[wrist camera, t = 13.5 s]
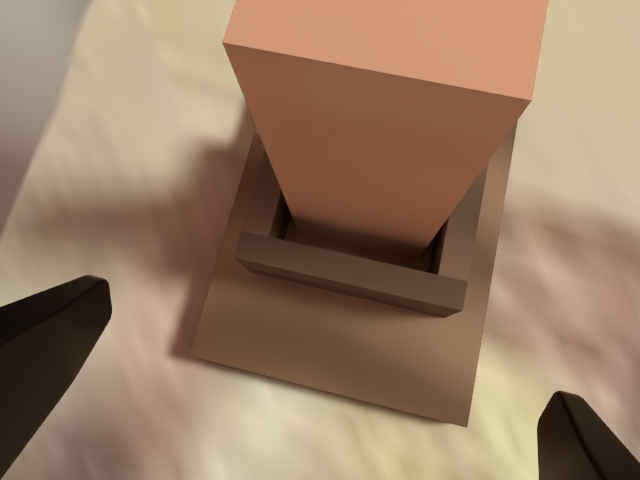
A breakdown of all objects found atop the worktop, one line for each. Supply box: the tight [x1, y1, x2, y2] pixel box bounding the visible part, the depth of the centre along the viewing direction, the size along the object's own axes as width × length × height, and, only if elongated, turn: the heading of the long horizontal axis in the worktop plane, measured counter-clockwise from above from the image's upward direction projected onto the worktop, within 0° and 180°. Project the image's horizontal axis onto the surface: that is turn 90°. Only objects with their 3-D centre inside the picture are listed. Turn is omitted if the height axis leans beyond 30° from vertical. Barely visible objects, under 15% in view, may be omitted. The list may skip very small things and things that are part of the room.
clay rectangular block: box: [222, 0, 548, 260], centre depth 14 cm, size 2×5×12 cm, turn 76°
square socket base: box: [189, 120, 518, 427], centre depth 19 cm, size 14×11×4 cm
